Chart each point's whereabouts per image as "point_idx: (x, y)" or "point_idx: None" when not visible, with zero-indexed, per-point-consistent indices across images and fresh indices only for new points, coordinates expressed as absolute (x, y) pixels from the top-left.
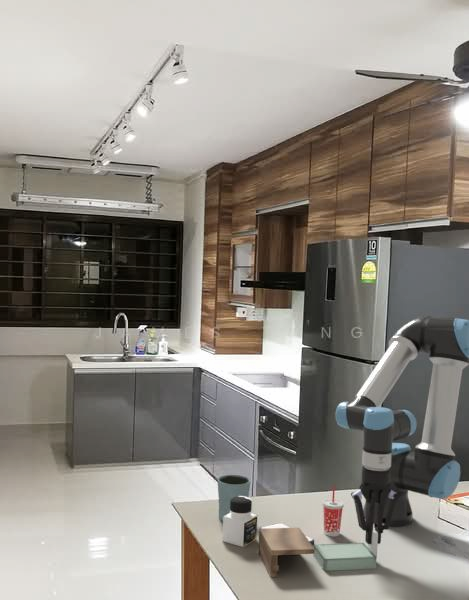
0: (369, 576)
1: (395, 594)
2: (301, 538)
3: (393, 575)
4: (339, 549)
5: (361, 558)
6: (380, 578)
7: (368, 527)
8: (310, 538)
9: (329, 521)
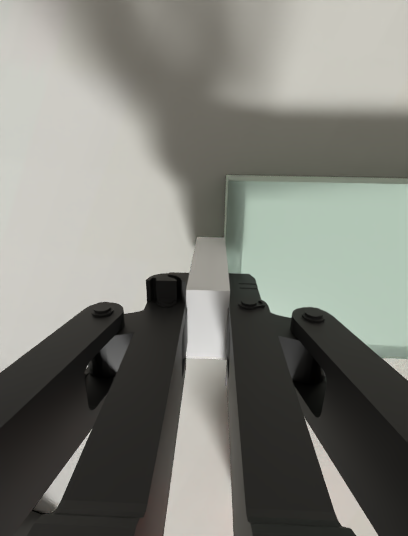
0: (302, 86)
1: None
2: None
3: (169, 83)
4: (389, 295)
5: (320, 181)
6: (254, 53)
7: (272, 322)
8: None
9: None
